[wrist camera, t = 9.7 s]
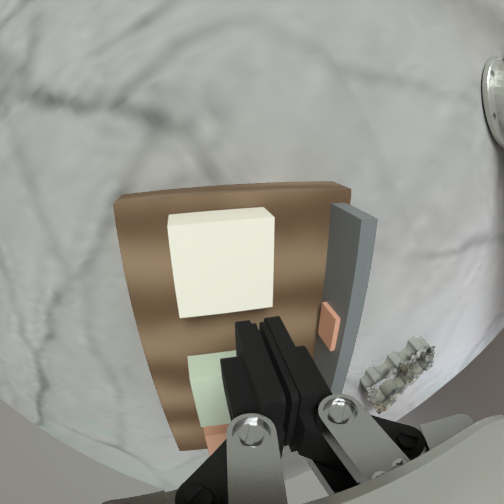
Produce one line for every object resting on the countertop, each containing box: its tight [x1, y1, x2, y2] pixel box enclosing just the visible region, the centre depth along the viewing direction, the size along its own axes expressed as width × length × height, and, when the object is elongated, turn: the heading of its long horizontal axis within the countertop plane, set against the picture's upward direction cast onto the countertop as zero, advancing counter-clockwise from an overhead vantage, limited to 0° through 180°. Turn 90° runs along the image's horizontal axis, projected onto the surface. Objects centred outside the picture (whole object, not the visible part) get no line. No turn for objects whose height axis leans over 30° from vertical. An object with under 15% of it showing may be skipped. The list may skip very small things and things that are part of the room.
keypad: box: [113, 182, 378, 451], centre depth 23 cm, size 28×16×7 cm, turn 1°
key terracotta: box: [203, 423, 230, 456], centre depth 26 cm, size 6×6×2 cm
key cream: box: [167, 207, 275, 318], centre depth 19 cm, size 6×6×2 cm
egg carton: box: [360, 336, 435, 414], centre depth 33 cm, size 11×8×4 cm
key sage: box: [187, 350, 236, 427], centre depth 21 cm, size 6×6×2 cm
